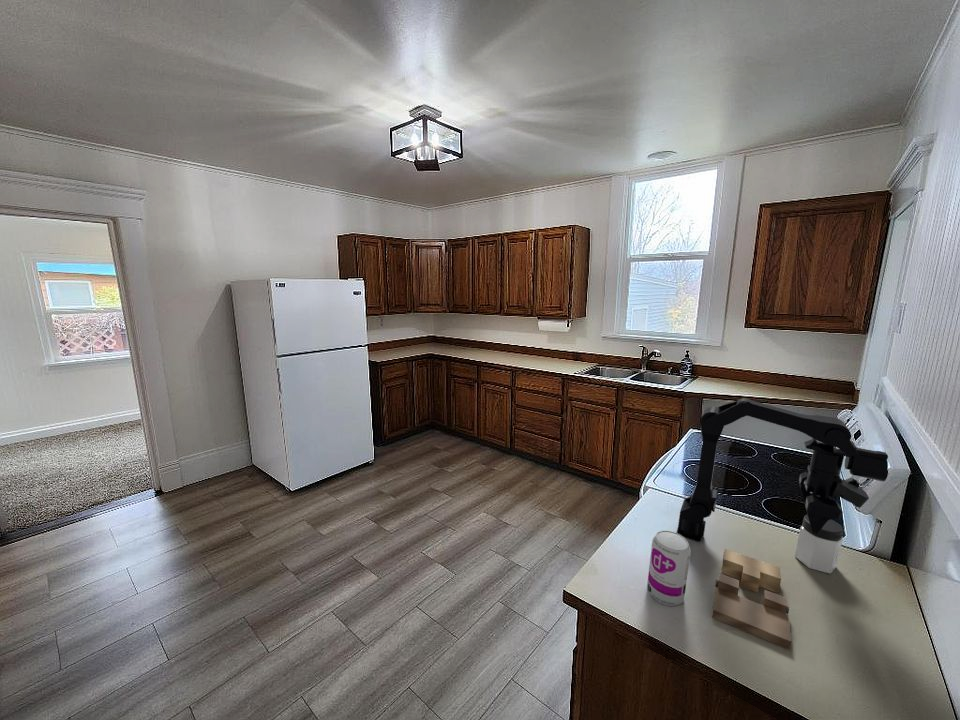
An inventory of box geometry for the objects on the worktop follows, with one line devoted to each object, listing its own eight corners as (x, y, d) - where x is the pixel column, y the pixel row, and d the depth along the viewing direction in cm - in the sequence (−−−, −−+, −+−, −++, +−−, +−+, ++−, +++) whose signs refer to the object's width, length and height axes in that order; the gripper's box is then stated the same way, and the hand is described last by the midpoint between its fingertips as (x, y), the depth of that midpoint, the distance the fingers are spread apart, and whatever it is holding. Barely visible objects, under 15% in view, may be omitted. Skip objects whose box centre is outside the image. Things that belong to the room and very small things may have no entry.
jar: (828, 578, 101) (837, 537, 98) (790, 559, 107) (798, 520, 105) (840, 564, 105) (849, 525, 103) (803, 547, 112) (810, 510, 110)
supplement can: (668, 613, 89) (676, 556, 86) (639, 588, 96) (645, 534, 93) (691, 600, 93) (699, 545, 90) (661, 577, 100) (668, 525, 97)
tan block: (720, 579, 100) (723, 565, 99) (722, 561, 106) (724, 548, 105) (779, 601, 93) (782, 586, 92) (777, 580, 100) (779, 567, 99)
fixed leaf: (711, 616, 88) (713, 601, 88) (714, 586, 97) (717, 572, 97) (790, 650, 81) (793, 633, 80) (786, 613, 90) (789, 598, 89)
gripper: (880, 495, 85) (863, 557, 88) (860, 463, 100) (846, 517, 103) (814, 479, 91) (801, 538, 94) (804, 451, 106) (793, 502, 109)
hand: (812, 523), depth 100 cm, fingers open, 9 cm apart
